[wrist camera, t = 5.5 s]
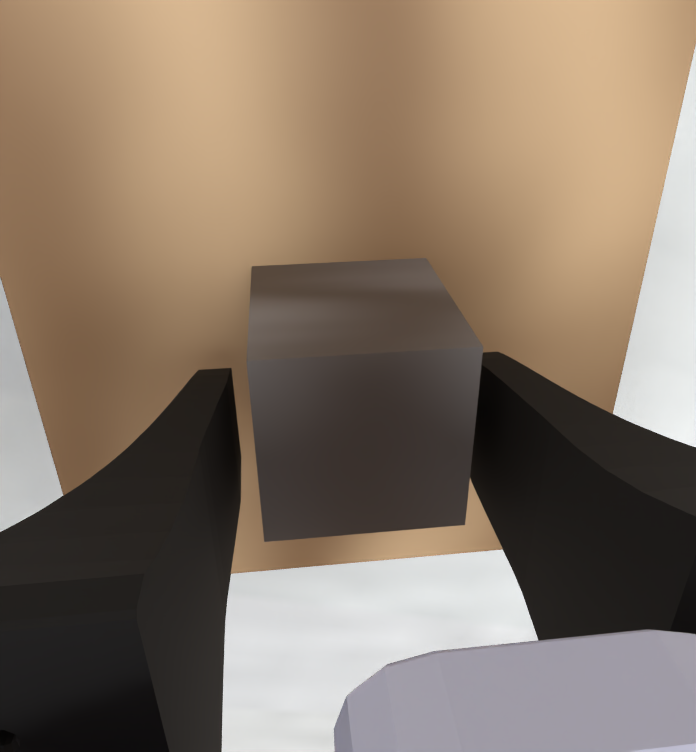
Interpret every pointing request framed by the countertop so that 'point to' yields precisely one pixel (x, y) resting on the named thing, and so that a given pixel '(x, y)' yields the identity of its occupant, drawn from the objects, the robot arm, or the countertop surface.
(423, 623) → the countertop surface
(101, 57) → the cover
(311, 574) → the countertop surface
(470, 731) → the robot arm
